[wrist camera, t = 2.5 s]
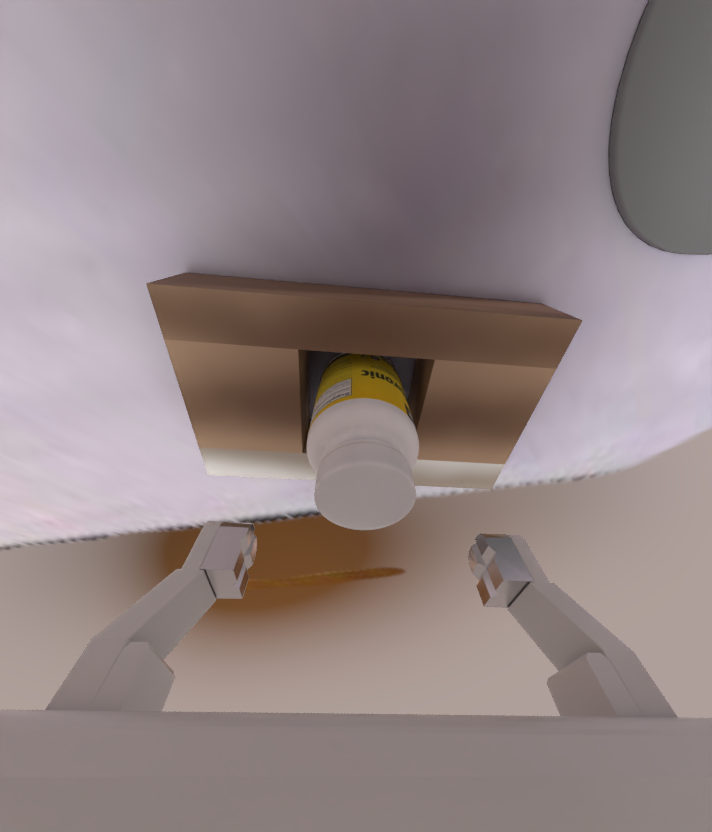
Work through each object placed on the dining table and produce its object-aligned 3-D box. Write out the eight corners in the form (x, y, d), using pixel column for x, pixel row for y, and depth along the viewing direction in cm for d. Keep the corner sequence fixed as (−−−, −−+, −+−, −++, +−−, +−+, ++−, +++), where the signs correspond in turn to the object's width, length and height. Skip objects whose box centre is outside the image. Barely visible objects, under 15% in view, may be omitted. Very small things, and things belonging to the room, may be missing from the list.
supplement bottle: (414, 389, 19) (459, 509, 11) (353, 428, 21) (353, 554, 13) (368, 327, 17) (381, 423, 9) (303, 377, 18) (264, 495, 10)
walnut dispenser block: (185, 272, 15) (146, 283, 12) (542, 303, 16) (582, 320, 13) (226, 442, 22) (208, 474, 19) (474, 456, 23) (491, 489, 20)
